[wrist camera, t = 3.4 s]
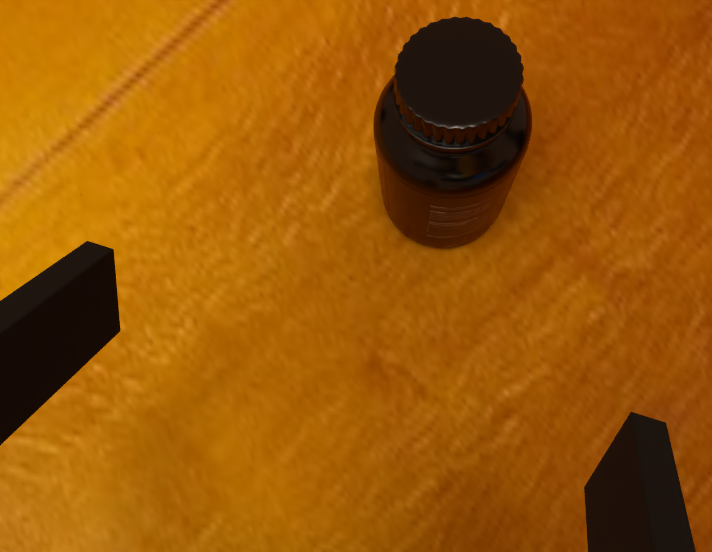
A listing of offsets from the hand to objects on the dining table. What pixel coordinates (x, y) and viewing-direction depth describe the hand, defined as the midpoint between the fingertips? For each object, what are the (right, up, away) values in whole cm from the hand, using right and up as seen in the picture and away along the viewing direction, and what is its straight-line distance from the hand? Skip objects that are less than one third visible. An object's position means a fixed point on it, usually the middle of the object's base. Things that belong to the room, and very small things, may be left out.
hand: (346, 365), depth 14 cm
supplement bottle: (+5, +7, +19) cm, 21 cm away
